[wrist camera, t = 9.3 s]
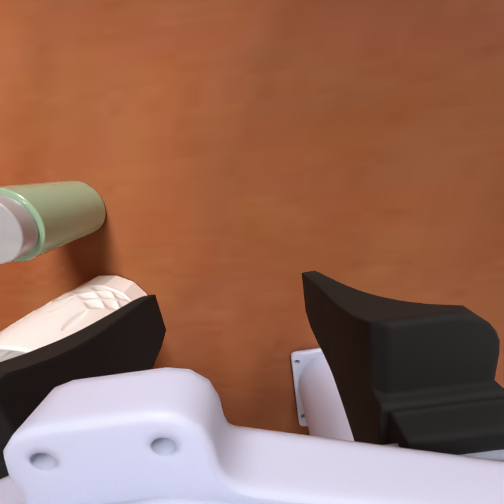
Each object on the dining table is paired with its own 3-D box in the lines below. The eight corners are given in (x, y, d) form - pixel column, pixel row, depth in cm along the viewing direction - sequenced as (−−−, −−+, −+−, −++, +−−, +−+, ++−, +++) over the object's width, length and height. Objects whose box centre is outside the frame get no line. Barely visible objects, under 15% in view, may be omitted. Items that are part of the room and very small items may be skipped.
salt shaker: (113, 230, 21) (42, 264, 13) (62, 237, 21) (-34, 275, 14) (95, 176, 19) (5, 182, 12) (42, 184, 19) (-78, 195, 12)
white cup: (132, 358, 25) (60, 479, 15) (55, 315, 23) (-80, 420, 14) (177, 301, 23) (126, 397, 13) (95, 249, 21) (-29, 318, 12)
